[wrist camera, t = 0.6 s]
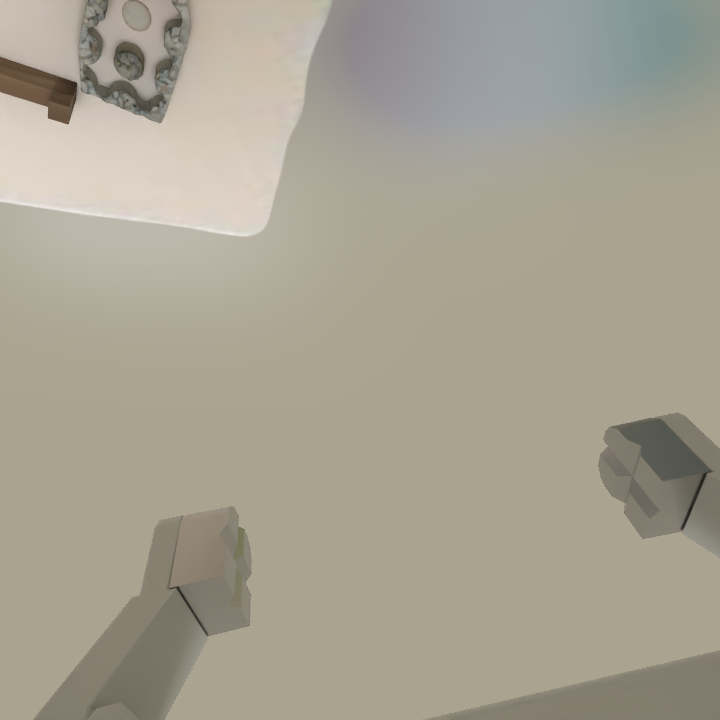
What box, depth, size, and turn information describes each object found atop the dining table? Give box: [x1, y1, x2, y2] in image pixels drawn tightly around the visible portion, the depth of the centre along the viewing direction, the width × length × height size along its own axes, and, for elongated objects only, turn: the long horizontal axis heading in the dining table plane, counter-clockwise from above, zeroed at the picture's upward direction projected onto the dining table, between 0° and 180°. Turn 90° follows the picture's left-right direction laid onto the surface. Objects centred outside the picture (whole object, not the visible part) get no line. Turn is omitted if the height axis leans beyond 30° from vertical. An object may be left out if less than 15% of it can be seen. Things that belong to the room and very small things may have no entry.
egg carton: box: [79, 0, 191, 123], centre depth 42 cm, size 11×8×4 cm
